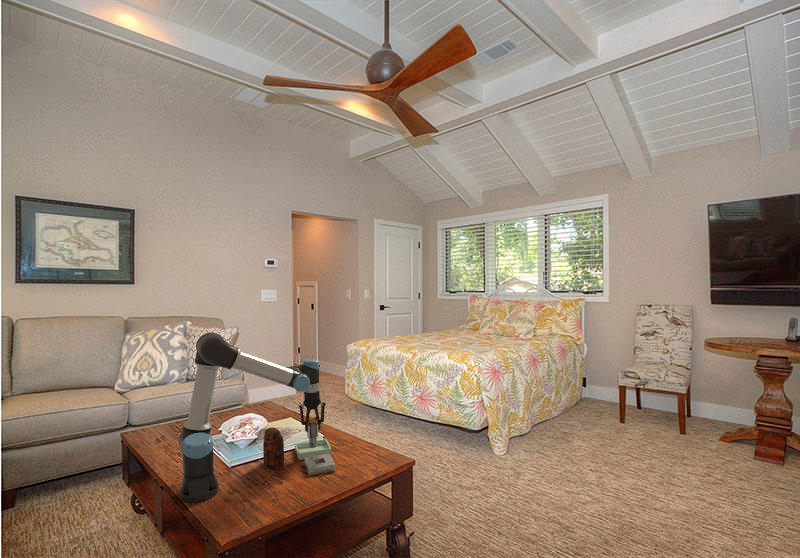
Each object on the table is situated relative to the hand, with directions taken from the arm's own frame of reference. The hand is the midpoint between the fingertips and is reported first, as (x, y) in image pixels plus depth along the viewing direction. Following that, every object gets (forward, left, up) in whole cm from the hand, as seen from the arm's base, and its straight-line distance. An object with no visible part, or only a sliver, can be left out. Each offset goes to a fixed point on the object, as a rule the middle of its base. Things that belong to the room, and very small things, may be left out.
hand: (312, 436), depth 232 cm
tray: (0, 0, -8) cm, 8 cm away
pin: (0, 0, -5) cm, 5 cm away
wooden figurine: (-20, -8, -8) cm, 23 cm away
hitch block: (0, -17, -8) cm, 19 cm away
